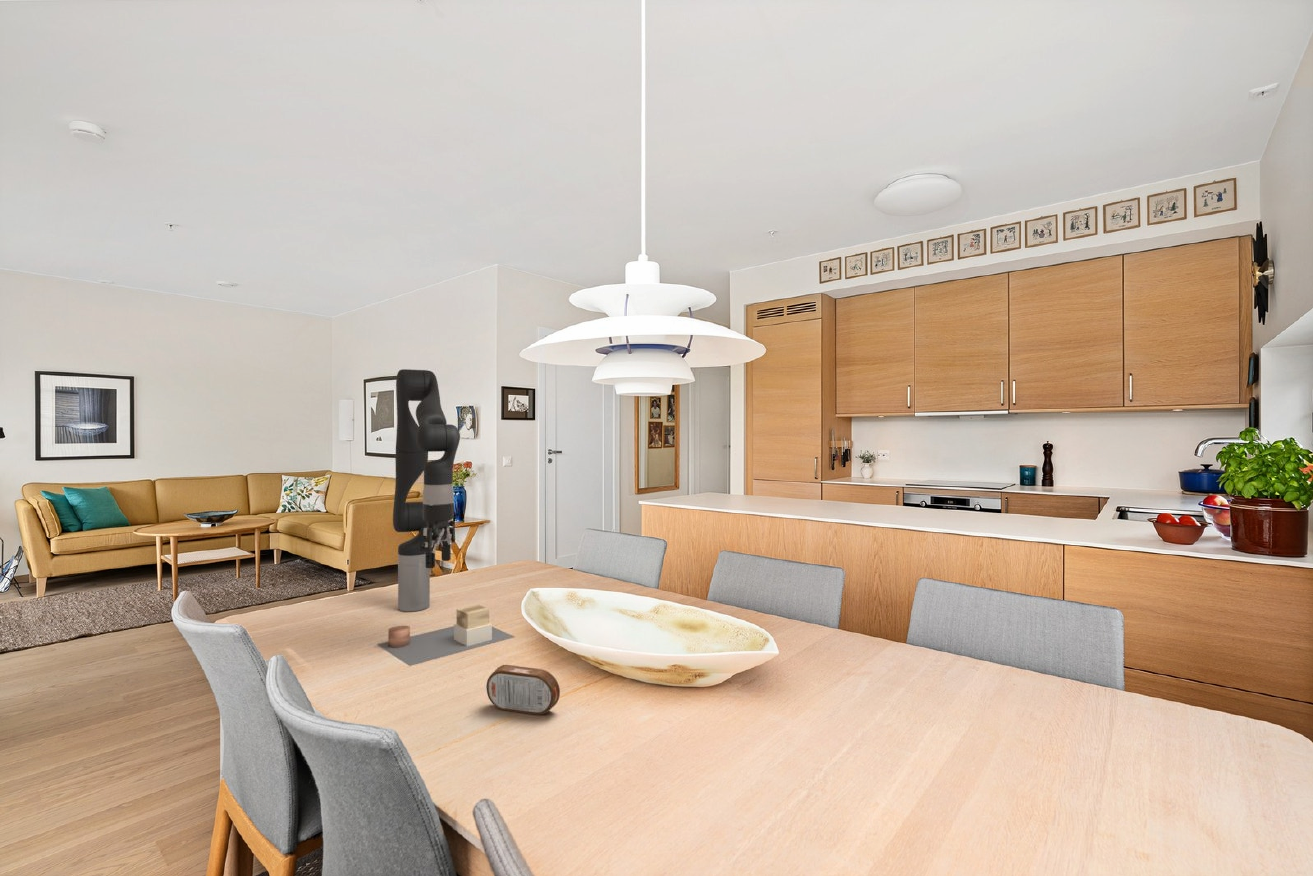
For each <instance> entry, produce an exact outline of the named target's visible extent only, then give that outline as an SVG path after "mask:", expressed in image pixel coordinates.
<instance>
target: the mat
mask: <svg viewBox="0 0 1313 876" xmlns="http://www.w3.org/2000/svg"><path fill="white" fill-rule="evenodd" d="M513 638H516V636H515V635H513V634H510V633H508V632H506V631H503V630H501V629H498V628H496V627H494V626H492V640H489V641H485V642H481V643H478V644H474V645H470V646H465V645H463V644H461V643H459V642H457V641H455V640H454V625H453V626H448V627H444V628H441V629H440V628H439V629H436V630H433V631H428V632H424V633H423V632H422V633H419V634H416V635H410V644H409V645H407V646H405V647H400V648H391V647H389V646H388V641H386V642H381V643H377V644H376V645H377V646H378V647H380V648H381V649H383V650H384V651H386V652H387V653H389V654H390V655H392V656H393V657H395V658H397V659H399V660H400V661H402V662H403V663H404V664H406V665H408V666H409V667H411V666H414V665H419V664H422V663H425V662H430V661H434V660H438V659H441V658H445V657H448V656H452V655H455V654H459V653H462V652H466V651H470V650H473V649H476V648H482V647H484V646H487V645H491V644H496V643H499V642H503V641H506V640H510V639H513Z"/></svg>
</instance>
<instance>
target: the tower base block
mask: <svg viewBox="0 0 1313 876" xmlns="http://www.w3.org/2000/svg"><path fill="white" fill-rule="evenodd" d="M453 626H454V640H455V641H457V642H459V643H461V644H463V645H465V646H470V645H474V644H478V643H481V642H485V641H489V640H492V627H493V624H492V623H491V622H489V624H488V625H484V626H480V627H476V628H472V629H465V628H463V627H461V626H459V625H457V623H454V624H453Z"/></svg>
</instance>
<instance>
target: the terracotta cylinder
mask: <svg viewBox="0 0 1313 876" xmlns="http://www.w3.org/2000/svg"><path fill="white" fill-rule="evenodd" d="M410 630H411V628H410V626H408V625H396V626H393V627H390V628H389V629H388V632H387V633H388V637H387V642H388V646H389V647H391V648H400V647H405V646H407V645H409V644H410V636H411V631H410Z"/></svg>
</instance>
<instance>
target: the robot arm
mask: <svg viewBox="0 0 1313 876" xmlns="http://www.w3.org/2000/svg"><path fill="white" fill-rule="evenodd" d="M395 379H396V381H395V387H396V388H395V389H396V390H395V391H396V392H395V393H396V395H395V396H396V438H395V457H394V458H395V485H394V496H393V497H394V499H393V510H392V525H393V529H394V531H395V532H397V533H410V532H417V534H416V535H415V536H414V537H413V538H411V539H409V540H406V541H404V542H402V543H400V544H398V546H397V547H398V548H397V581H398V582H397V595H398V596H397V601H398V603H397V609H398V611H401V612H417V611H423V610H426V609H428V608H429V607H430V606H431V604H430V603H431V600H430V598H431V597H430V596H431V595H430V594H431V590H430V588H431V583H430V582H431V581H430V580H431V576H430V575H431V569H434V568H435V567H436V550H437V547H438V546H439V545H440V544H441V561H442V562H449V561H451V559H452V557H451V556H452V553H451V552H452V551H451V550H452V549H451V548H452V546H453V543H455V542H456V522H455V520H453V519H454V516H455V515H454V510H455V507H454V506H455V505H454V504H455V502H454V499H455V497H454V496H455V493H454V492H455V491H454V483H453V481H454V479H453V478H454V476H453V471H454V462H455V458H456V454H457V451H458V448H459V445H460V441H461V433H460V431H459V429H458V427H457V426H456V425H454V424H450V423H449V424H448V423H447V418H446V415H445V414H444V411H443V408H442V405H441V395H440V389H439V383H438V379H437V376H436V375H435V373H434V372H433V371H431V370H427V369H405V368H404V369H400V370H399V371H397V374H396V378H395ZM410 401H411V402H419V403H418V404H417V406H416V409H415V418H416V421H415V418H414V416H413V414H412V412H411V409H410V406H409V404H410V403H409V402H410ZM429 452H431V453H432V452H433V453H434V452H443V455H442V456H441V458H438V459H434V460H430V461H429ZM422 474H423V490H422V501H407V499H408V495H409V493H410V491H411V489H412V487H413V486H414V484H415V483H416V482H417V481H418V480H419V477H421V475H422Z"/></svg>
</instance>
